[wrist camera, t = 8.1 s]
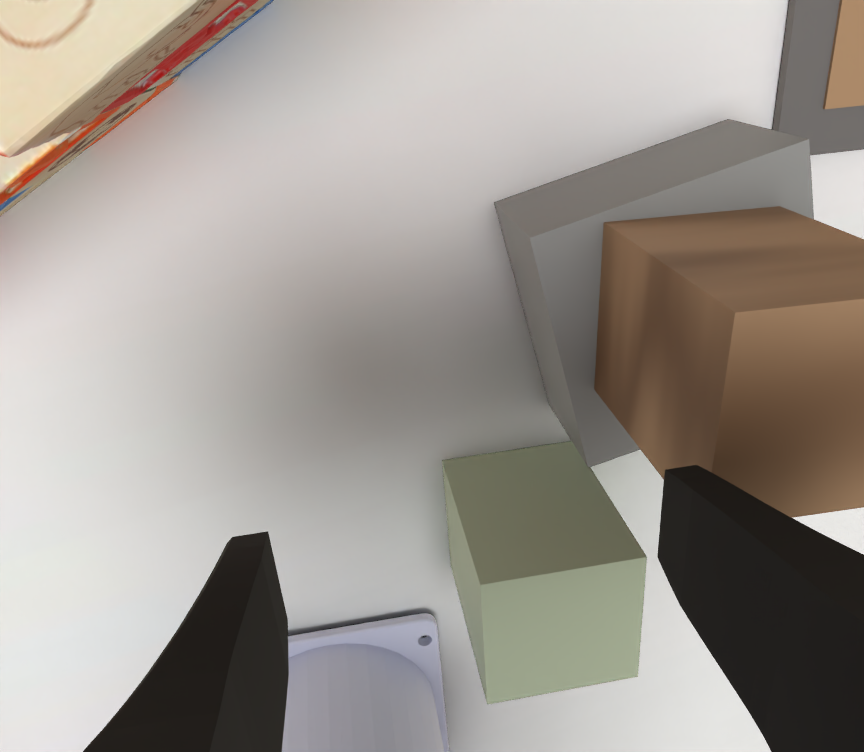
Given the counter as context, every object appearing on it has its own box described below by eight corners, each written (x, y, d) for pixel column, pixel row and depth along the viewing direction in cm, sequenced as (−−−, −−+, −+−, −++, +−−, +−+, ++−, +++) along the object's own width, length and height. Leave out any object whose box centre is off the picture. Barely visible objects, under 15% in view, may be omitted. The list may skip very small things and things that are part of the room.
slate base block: (747, 330, 24) (823, 384, 20) (546, 401, 24) (588, 467, 20) (723, 118, 21) (809, 139, 17) (492, 200, 21) (529, 237, 17)
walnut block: (752, 370, 20) (915, 499, 15) (594, 389, 19) (702, 530, 14) (779, 206, 18) (981, 285, 13) (603, 222, 17) (735, 312, 12)
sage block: (571, 544, 27) (637, 676, 21) (450, 564, 26) (487, 704, 21) (572, 440, 25) (646, 557, 19) (442, 459, 24) (480, 585, 19)
